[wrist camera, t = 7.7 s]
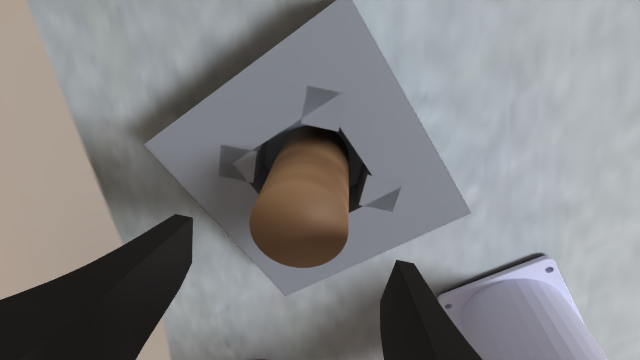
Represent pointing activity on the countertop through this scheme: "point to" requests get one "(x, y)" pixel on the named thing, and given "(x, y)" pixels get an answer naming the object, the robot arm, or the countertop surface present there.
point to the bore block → (324, 112)
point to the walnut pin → (304, 200)
